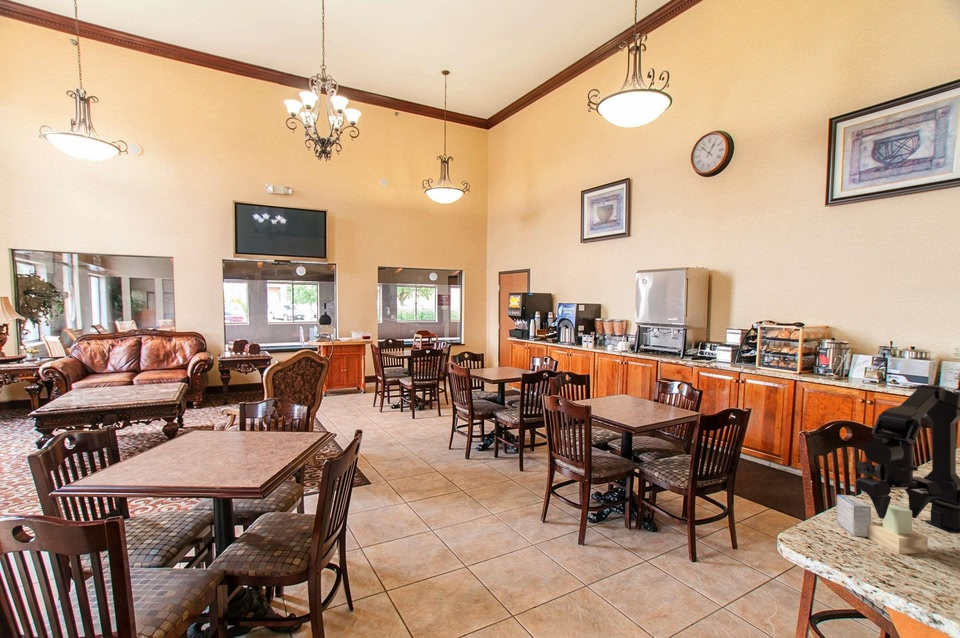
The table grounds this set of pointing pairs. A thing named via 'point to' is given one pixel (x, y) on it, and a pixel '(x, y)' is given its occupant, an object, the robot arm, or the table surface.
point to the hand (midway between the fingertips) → (897, 517)
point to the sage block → (898, 519)
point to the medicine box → (853, 515)
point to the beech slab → (898, 540)
